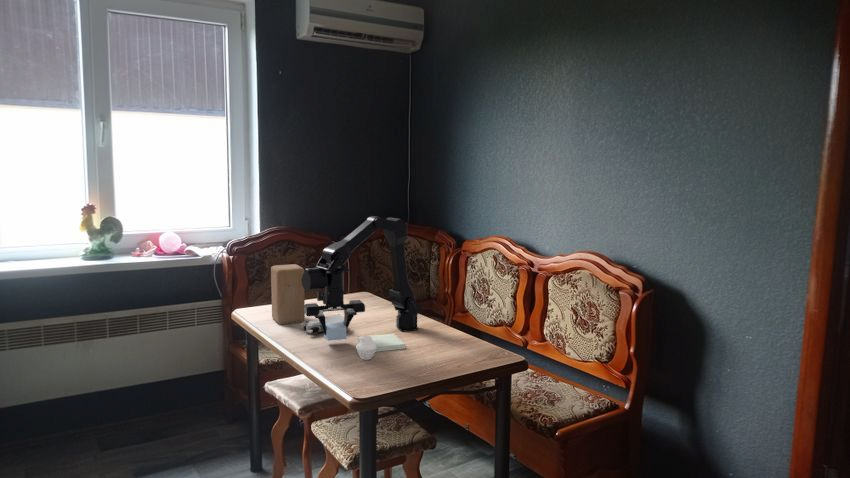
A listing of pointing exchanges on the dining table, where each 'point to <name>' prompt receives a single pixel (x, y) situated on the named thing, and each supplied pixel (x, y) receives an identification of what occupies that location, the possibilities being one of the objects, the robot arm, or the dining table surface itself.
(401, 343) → the pale green square slab
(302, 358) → the dining table surface
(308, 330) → the robot toy
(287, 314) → the wooden block
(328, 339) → the brick
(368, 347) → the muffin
